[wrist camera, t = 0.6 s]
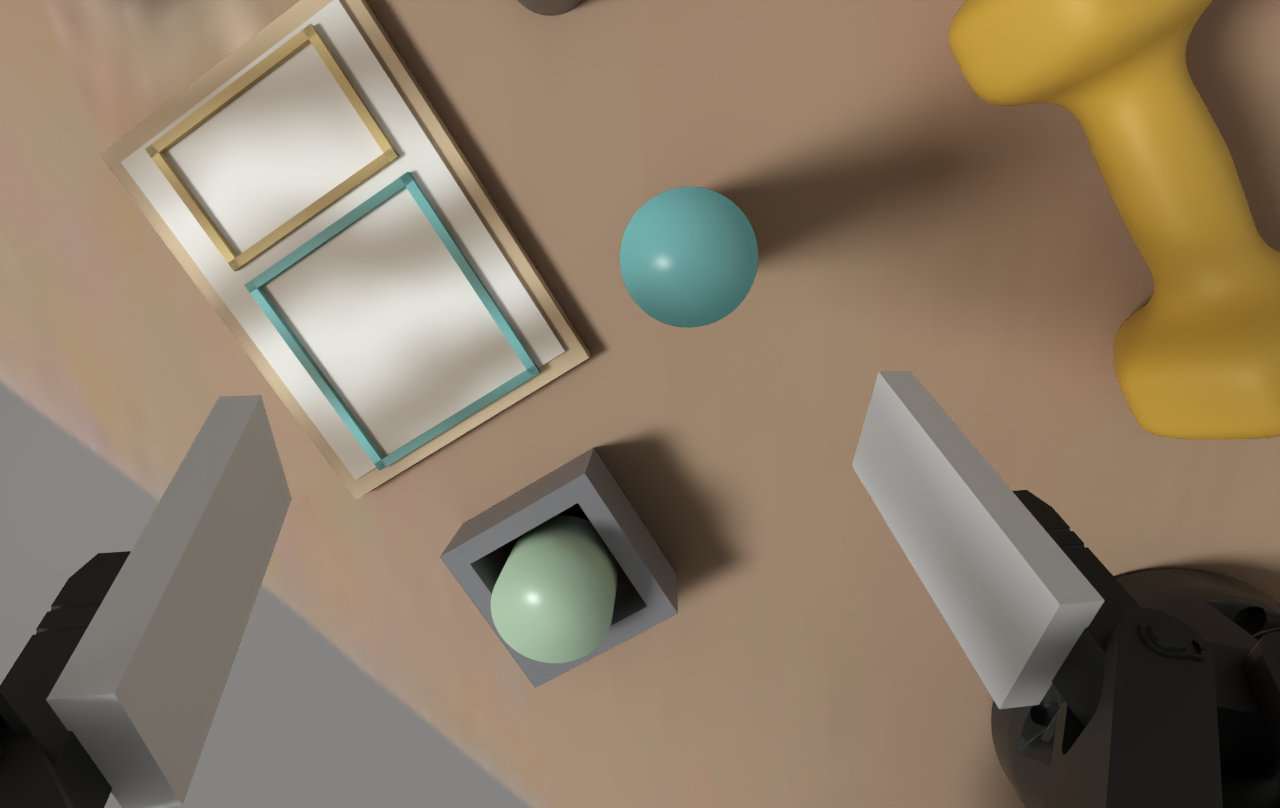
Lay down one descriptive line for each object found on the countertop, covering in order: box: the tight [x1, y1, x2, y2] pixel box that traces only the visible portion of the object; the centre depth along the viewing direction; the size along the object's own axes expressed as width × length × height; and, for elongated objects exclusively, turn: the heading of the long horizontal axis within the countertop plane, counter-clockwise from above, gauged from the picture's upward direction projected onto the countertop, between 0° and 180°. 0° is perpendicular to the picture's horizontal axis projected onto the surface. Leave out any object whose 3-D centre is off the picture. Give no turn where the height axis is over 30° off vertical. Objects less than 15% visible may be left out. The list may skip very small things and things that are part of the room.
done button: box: [491, 515, 619, 663], centre depth 31 cm, size 5×5×4 cm
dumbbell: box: [948, 0, 1280, 439], centre depth 26 cm, size 19×9×8 cm, turn 32°
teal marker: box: [620, 187, 758, 327], centre depth 25 cm, size 4×4×12 cm
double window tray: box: [100, 0, 591, 499], centre depth 31 cm, size 18×13×1 cm
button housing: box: [440, 448, 678, 688], centre depth 33 cm, size 8×8×4 cm
